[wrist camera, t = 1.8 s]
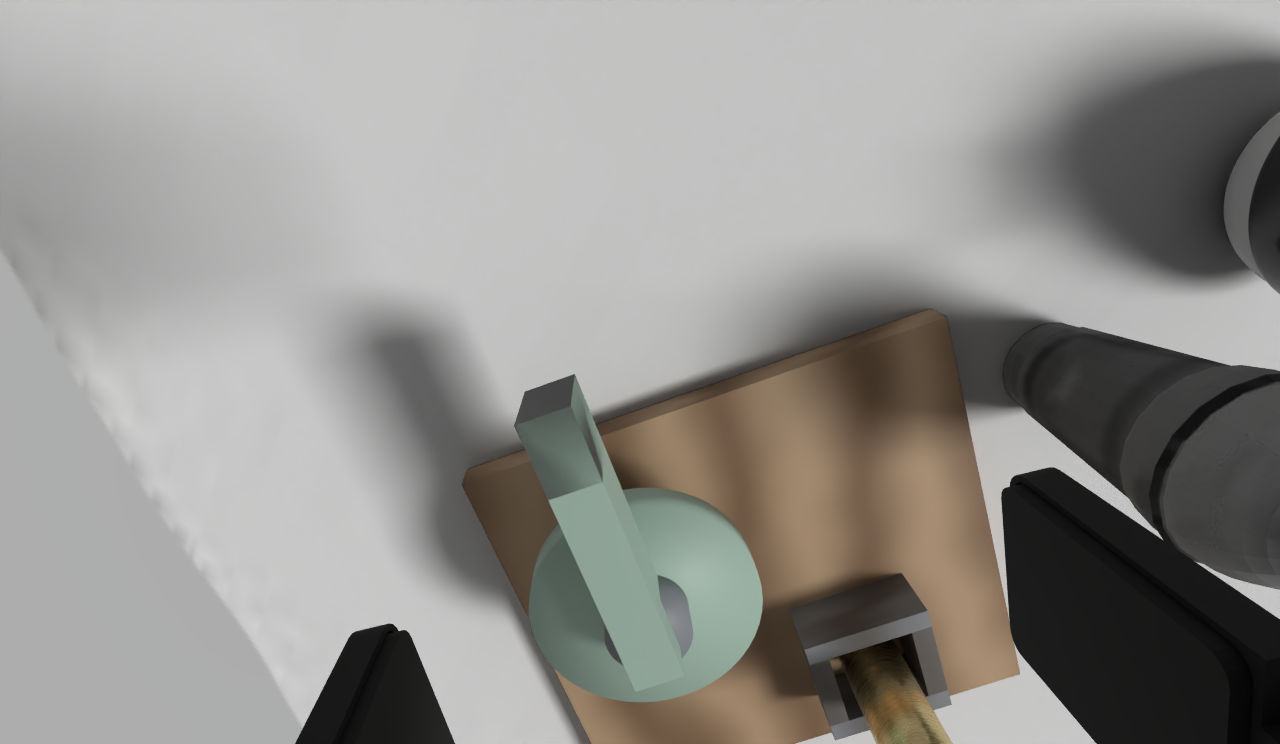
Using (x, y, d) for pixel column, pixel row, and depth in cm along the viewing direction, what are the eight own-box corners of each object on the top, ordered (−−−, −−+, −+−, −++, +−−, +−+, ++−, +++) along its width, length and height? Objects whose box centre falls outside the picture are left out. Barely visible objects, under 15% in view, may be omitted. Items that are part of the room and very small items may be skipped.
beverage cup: (1137, 390, 35) (1781, 693, 16) (1003, 457, 35) (1460, 821, 16) (1095, 267, 32) (1787, 446, 13) (954, 341, 33) (1416, 610, 14)
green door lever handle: (780, 637, 32) (809, 720, 27) (580, 701, 32) (576, 792, 28) (671, 327, 27) (685, 365, 22) (436, 410, 27) (403, 464, 23)
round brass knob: (885, 597, 36) (1030, 836, 24) (899, 652, 37) (1045, 904, 25) (816, 620, 36) (924, 866, 24) (833, 672, 37) (944, 933, 25)
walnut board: (930, 308, 33) (985, 337, 28) (1004, 653, 40) (1058, 723, 35) (467, 469, 34) (446, 522, 29) (618, 773, 41) (620, 855, 36)
